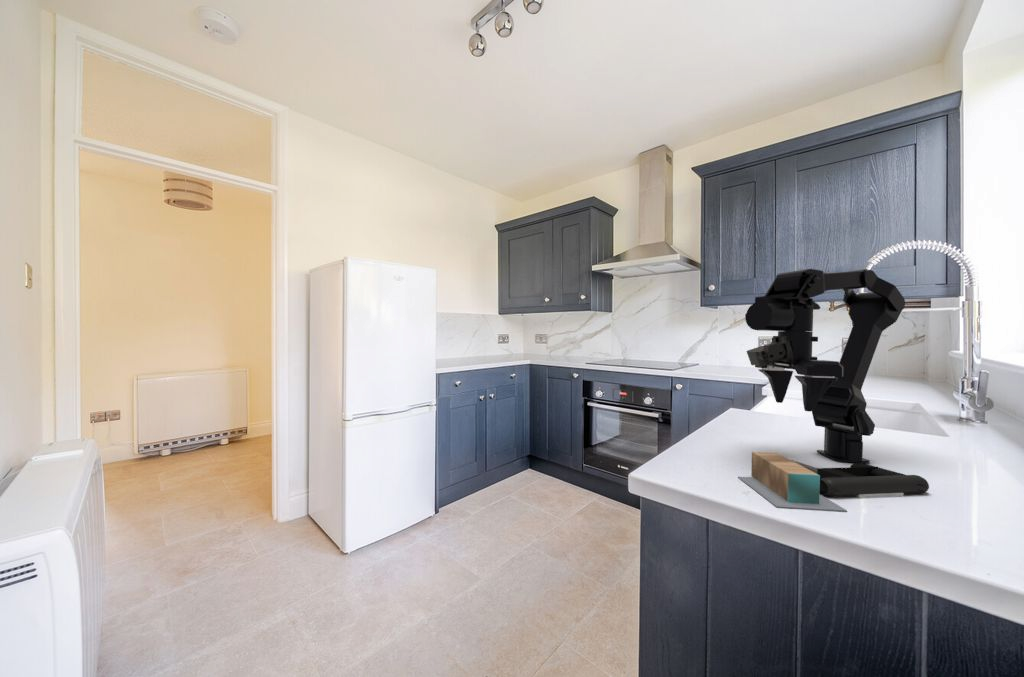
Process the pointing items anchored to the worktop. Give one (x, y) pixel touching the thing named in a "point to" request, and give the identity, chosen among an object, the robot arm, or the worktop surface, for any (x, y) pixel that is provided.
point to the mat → (782, 503)
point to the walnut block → (786, 478)
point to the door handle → (866, 481)
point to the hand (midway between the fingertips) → (792, 406)
